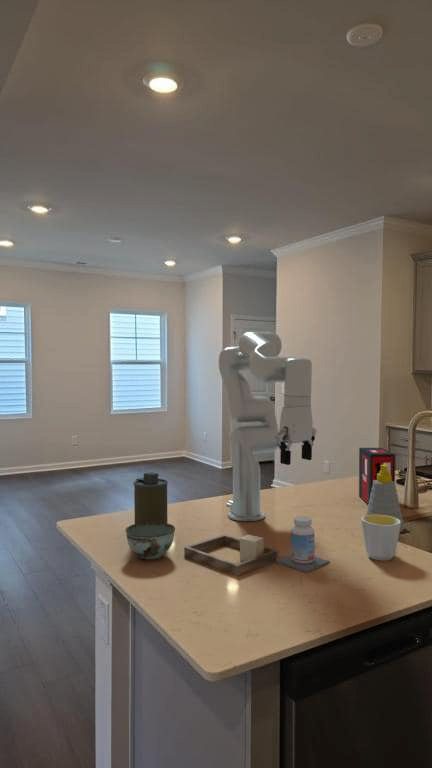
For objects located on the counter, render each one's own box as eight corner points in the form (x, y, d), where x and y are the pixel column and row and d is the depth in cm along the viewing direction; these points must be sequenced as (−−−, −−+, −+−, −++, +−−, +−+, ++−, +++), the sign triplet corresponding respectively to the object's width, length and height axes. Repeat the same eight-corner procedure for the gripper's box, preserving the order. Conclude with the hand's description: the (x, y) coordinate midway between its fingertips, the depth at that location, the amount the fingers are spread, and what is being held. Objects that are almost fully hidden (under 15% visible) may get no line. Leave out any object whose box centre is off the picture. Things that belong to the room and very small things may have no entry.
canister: (175, 538, 162) (175, 472, 162) (148, 546, 154) (148, 478, 154) (152, 530, 170) (151, 468, 169) (125, 538, 162) (125, 473, 161)
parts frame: (184, 556, 146) (184, 547, 146) (224, 542, 158) (224, 534, 158) (237, 576, 132) (237, 566, 132) (277, 559, 143) (277, 550, 143)
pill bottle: (314, 565, 138) (314, 522, 138) (290, 563, 139) (290, 521, 139) (314, 557, 144) (314, 516, 144) (291, 555, 145) (291, 514, 145)
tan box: (239, 560, 143) (239, 538, 143) (247, 556, 147) (247, 534, 146) (255, 564, 140) (255, 541, 140) (263, 559, 144) (263, 537, 143)
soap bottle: (404, 524, 176) (404, 463, 175) (404, 535, 164) (404, 469, 164) (365, 520, 180) (365, 461, 179) (362, 531, 168) (363, 467, 168)
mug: (398, 566, 138) (398, 526, 138) (358, 560, 143) (358, 522, 142) (403, 550, 151) (403, 513, 151) (366, 545, 155) (366, 509, 155)
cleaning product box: (359, 497, 213) (359, 447, 212) (381, 497, 213) (381, 447, 212) (370, 508, 196) (370, 454, 196) (394, 508, 196) (395, 454, 196)
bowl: (154, 570, 136) (154, 539, 136) (115, 560, 144) (114, 530, 143) (185, 554, 148) (185, 525, 148) (147, 545, 155) (147, 518, 155)
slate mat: (276, 562, 141) (276, 560, 141) (298, 553, 148) (298, 551, 148) (307, 572, 134) (307, 570, 134) (329, 562, 141) (329, 560, 141)
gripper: (305, 399, 159) (303, 455, 160) (267, 402, 147) (266, 463, 148) (326, 401, 153) (324, 459, 155) (288, 405, 142) (287, 468, 143)
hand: (296, 461), depth 151 cm, fingers open, 9 cm apart
